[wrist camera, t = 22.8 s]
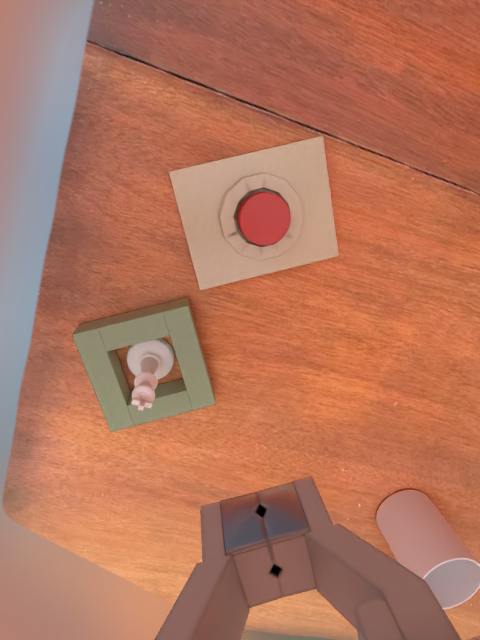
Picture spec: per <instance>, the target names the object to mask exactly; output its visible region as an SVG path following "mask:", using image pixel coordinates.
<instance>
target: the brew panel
mask: <svg viewBox="0 0 480 640" xmlns="http://www.w3.org/2000/svg"><path fill="white" fill-rule="evenodd" d="M169 176H170V180H171V184H172V187H173V191H174V195H175V199H176V202H177V206H178V210H179V214H180V217H181V221H182V225H183V229H184V232H185V236H186V240H187V244H188V248H189V251H190V255H191V259H192V263H193V266H194V270H195V274H196V278H197V281H198V285H199V289H200V290H205V289H209V288H213V287H217V286H221V285H225V284H229V283H233V282H237V281H241V280H245V279H249V278H253V277H257V276H261V275H265V274H269V273H273V272H277V271H281V270H285V269H289V268H293V267H297V266H301V265H305V264H309V263H313V262H317V261H322V260H326V259H330V258H334V257H338V256H339V253H338V245H337V238H336V230H335V223H334V215H333V207H332V200H331V192H330V185H329V177H328V170H327V162H326V154H325V147H324V139H323V136H319V137H315V138H310V139H306V140H302V141H298V142H293V143H289V144H285V145H280V146H276V147H272V148H267V149H263V150H259V151H255V152H250V153H246V154H242V155H237V156H233V157H229V158H225V159H220V160H216V161H212V162H207V163H203V164H199V165H195V166H190V167H186V168H182V169H177V170H173V171H169ZM257 192H269V193H274V194H276V195H278V196H280V197H281V198H282V199H283V200H284V201H285V202H286V204H287V205H288V207H289V210H290V216H291V221H290V226H289V229H288V231H287V233H286V234H285V235H284V237H283V238H282V239H281V240H279V241H278V242H276V243H274V244H271V245H257V244H255V243H253V242H251V241H250V240H248V239H247V238H246V237H245V236H244V235H243V234H242V232H241V231H240V228H239V226H238V221H237V215H238V210H239V208H240V206H241V204H242V202H243V201H244V200H245V199H246V198H247V197H248V196H250V195H252V194H254V193H257Z"/></svg>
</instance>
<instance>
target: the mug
mask: <svg viewBox="0 0 480 640" xmlns="http://www.w3.org/2000/svg"><path fill="white" fill-rule="evenodd" d="M376 521H377V525H378V527H379V529H380V531H381V533H382V535H383V536H384V538H385V540H386V542H387V544H388V545H389V547H390V549H391V551H392V553H393V554H394V556H395V558H396V560H397V561H398V563H400V564H401V565H403V566H404V567H406V568H407V569H409V570H410V571H412V572H413V573H415V574H416V575H418V576H419V577H421V578H422V579H424V580H425V581H426V582H427V584H428V585H429V587H430V589H431V590H432V592H433V594H434V595H435V597H436V599H437V600H438V602H439V604H440V605H441V607H442V609H448V608H452V607H455V606H458V605H460V604H462V603H464V602H465V601H467V600H468V599H470V598H471V597H472V596H473V595H474V594H475V593H476V592H477V590H478V589H479V587H480V564H479V563H478V561H477V560H476V559H475V557H474V556H473V555H472V553H471V552H470V551H469V550H468V548H467V547H466V546H465V544H464V543H463V542H462V540H461V539H460V538H459V537H458V535H457V534H456V533H455V531H454V530H453V529H452V527H451V526H450V525H449V524H448V522H447V521H446V520H445V518H444V517H443V516H442V514H441V513H440V512H439V511H438V509H437V508H436V507H435V505H434V504H433V503H432V502H431V500H430V499H429V498H428V497H427V496H426V494H424V493H422V492H420V491H418V490H413V489H410V490H402V491H398V492H396V493H394V494H392V495H390V496H389V497H388V498H386V499H385V500H384V501H383V502H382V504H381V505H380V507H379V508H378V510H377V515H376Z"/></svg>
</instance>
